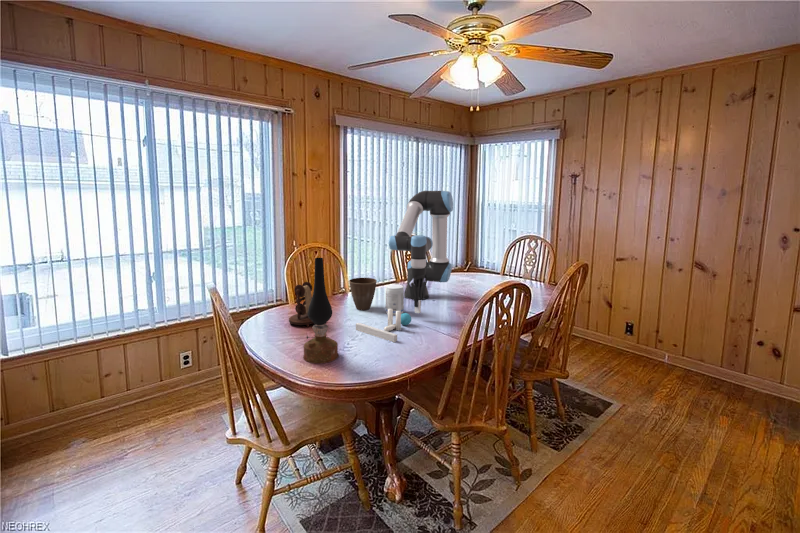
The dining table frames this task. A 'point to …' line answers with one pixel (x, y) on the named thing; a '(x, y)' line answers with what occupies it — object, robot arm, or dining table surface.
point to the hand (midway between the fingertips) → (417, 312)
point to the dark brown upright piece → (302, 305)
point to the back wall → (376, 332)
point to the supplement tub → (395, 298)
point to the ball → (405, 319)
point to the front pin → (390, 327)
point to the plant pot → (363, 292)
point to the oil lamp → (320, 322)
